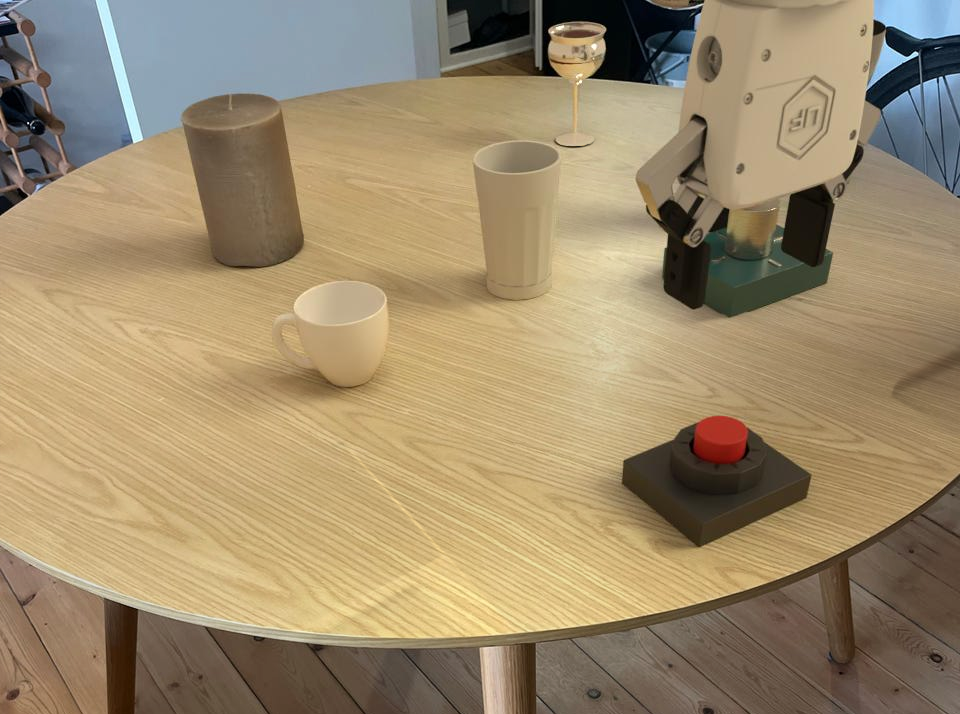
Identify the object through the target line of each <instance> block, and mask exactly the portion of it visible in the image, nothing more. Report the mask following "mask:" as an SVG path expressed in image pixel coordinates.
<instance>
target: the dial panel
mask: <svg viewBox="0 0 960 714" xmlns="http://www.w3.org/2000/svg"><path fill="white" fill-rule="evenodd" d="M726 232H727V228H724V229H720V230H717V231H714V232H712V231H710V232H708V233H707V235H706V236H705V238H704V239H703V241H705V242H707V243H709V244H711V255H710V263H709V271H708V279H707V287H706V295H705V302H704V304H705V305H707V306H708V307H710V308H711V309H713V310H715V311H717V312H718V313H720V314H723V315H724V316H726V317H727V318H729V319H730V318H733V317H736V316H739V315H741V314H745V313H749V312H752V311H754V310H757V309H759V308H763V307H765V306H768V305H771V304H773V303H776V302H779V301H781V300H784V299H787V298H789V297H790V298H791V297H792V296H795V295H798V294H800V293H803V292H806V291H808V290H811V289H814V288H817V287H819V286H822V285H825V284H827V283H828V280H829V276H830V270H831V265H832V261H833V256H834V252H833V251H831V250H829V249H827V248H826V250H825V255H824V260H823V263H822V264H821V265H819V266H816V267H811V266H809V265H807V264H805V263H803V262H801V261H799V260H797V259H795V258H793V257H792V256H790V255H788V254H786V253H784V252H783V251H782V250H781V244H782V238H783V232H784V227H783V226H781V225H779V224H778V223H777V224H776V230H775V236H774V242H773V248H772V252H771V254H770V255H769V256H767V257H765V258H762V259H756V260H744V259H738V258H735V257H732V256H730V255H729V254H727V253H726V252H725V249H724V247H725V240H726ZM666 250H667V246H666V247H664V249H663V261H662V271H661V278H662V279H663V280H664V272H665V261H666Z"/></svg>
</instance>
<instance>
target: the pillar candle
mask: <svg viewBox="0 0 960 714" xmlns="http://www.w3.org/2000/svg"><path fill="white" fill-rule="evenodd" d="M180 121H181V123H182V125H183V126H182V127H183V131H184V135H185V138H186V143H187V149H188V152H189V157H190V162H191V166H192V169H193V175H194V179H195V183H196V187H197V192H198V196H199V201H200V205H201V209H202V213H203V217H204V222H205V226H206V231H207V235H208V239H209V243H210V248H211V252H212V255H213V257H214V259H216V260H217V262H219V263H222V264H223V265H225V266H230V267H255V268H258V267H260V268H261V267H267V266H269V267H270V266H272V265H276V264H279V263H282V262H285V261H287V260H289V259H291V258H293V257H294V256H295V255H297V254H298V253H299V252H300V251H301V249H302V248H303V245H304V242H305V240H304V239H305V238H304V237H305V235H304V232H303V226H302V220H301V213H300V208H299V202H298V196H297V189H296V184H295V178H294V173H293V167H292V162H291V155H290V150H289V144H288V139H287V133H286V128H285V121H284V116H283V111H282V105H281V104H280V102H279V101H278V100H277V99H276V98H274V97H272V96H269V95H264V94H261V93H260V94H259V93H258V94H257V93H239V92H238V93H229V94H228V93H227V94H222V95H215V96H212V97H207V98H205V99H201V100H199V101H196V102H194V103H192V104H190V105H189V106H188V107H186V108H185V109H184V110H183V111H182V113H181V117H180Z"/></svg>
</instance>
